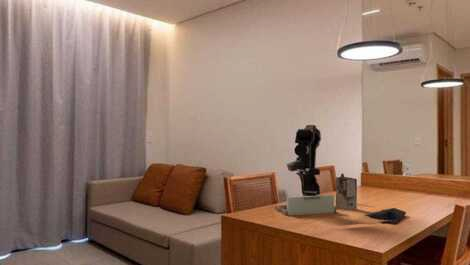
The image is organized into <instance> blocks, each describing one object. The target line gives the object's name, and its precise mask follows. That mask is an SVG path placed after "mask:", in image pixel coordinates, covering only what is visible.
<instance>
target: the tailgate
mask: <svg viewBox="0 0 470 265" xmlns="http://www.w3.org/2000/svg"><path fill="white" fill-rule="evenodd" d="M334 200H335V195H334V194H324V195H321V194H320V195H316V196H305V195H302V196H301V195H300V196H299V195H298V196H287V197H286V205H287V211H288V216H298V215H299V216H301V215H312V214H313V215H315V214H327V213H329V214H330V213H335V212H334V207H335V202H334Z"/></svg>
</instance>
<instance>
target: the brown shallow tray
mask: <svg viewBox="0 0 470 265" xmlns="http://www.w3.org/2000/svg"><path fill="white" fill-rule="evenodd" d="M274 211H277V213H280V214H282V215H283V216H289V215H288V211H287V204H286V205H285V204H283V205H282V204H281V205H274ZM333 213H337V207H336V206H334V212H333Z"/></svg>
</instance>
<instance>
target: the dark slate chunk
mask: <svg viewBox="0 0 470 265" xmlns="http://www.w3.org/2000/svg"><path fill="white" fill-rule="evenodd" d="M406 215H407V212H406V211H404V210H401V209H398V208H396V207H393V208H386V209H381V210H379V211H373V212H370V213H367V214H365V215H364V216H365V217H369V219H373V220H381V221H378V224H379V223H381V224H387V225H397V223H399V222H400V221H402V219H403V218H404V217H405V216H406Z"/></svg>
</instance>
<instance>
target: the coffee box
mask: <svg viewBox="0 0 470 265" xmlns="http://www.w3.org/2000/svg"><path fill="white" fill-rule="evenodd" d="M357 181H358V179H357V178H353V177H348V176H344V177H340V176H336V177H335V200H336V202H335V207H336V208H339V209H343V210H346V211H348V210H357V205H358V204H357V203H358V202H357V199H358V198H357V196H358V194H357V192H358V191H357V190H358V187H357V186H358V184H357V183H358V182H357Z"/></svg>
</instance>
